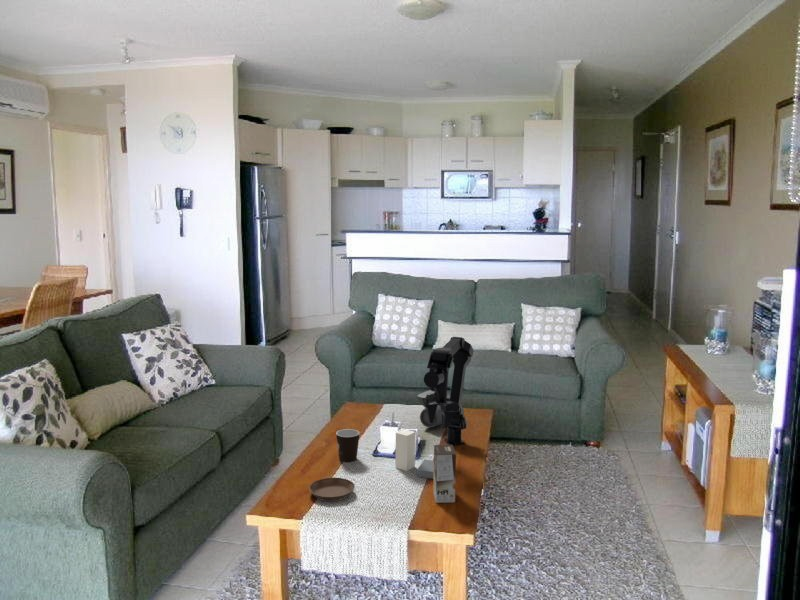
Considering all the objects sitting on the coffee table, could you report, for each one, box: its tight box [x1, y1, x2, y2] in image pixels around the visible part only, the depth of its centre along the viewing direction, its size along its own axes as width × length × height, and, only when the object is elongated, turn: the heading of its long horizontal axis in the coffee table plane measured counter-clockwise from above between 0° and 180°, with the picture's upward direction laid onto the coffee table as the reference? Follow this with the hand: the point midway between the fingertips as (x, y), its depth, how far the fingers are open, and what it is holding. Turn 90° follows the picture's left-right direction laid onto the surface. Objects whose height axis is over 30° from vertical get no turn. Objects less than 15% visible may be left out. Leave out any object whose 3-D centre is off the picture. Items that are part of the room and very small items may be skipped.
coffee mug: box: [335, 428, 361, 463], centre depth 253 cm, size 12×9×10 cm
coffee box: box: [432, 444, 457, 504], centre depth 220 cm, size 9×6×16 cm
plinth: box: [416, 459, 434, 480], centre depth 240 cm, size 10×10×2 cm
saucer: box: [308, 477, 356, 502], centre depth 223 cm, size 15×15×3 cm
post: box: [394, 428, 416, 472], centre depth 244 cm, size 5×5×13 cm
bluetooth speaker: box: [419, 394, 450, 429], centre depth 294 cm, size 23×9×10 cm, turn 155°
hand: (437, 425), depth 252 cm, fingers open, 9 cm apart
